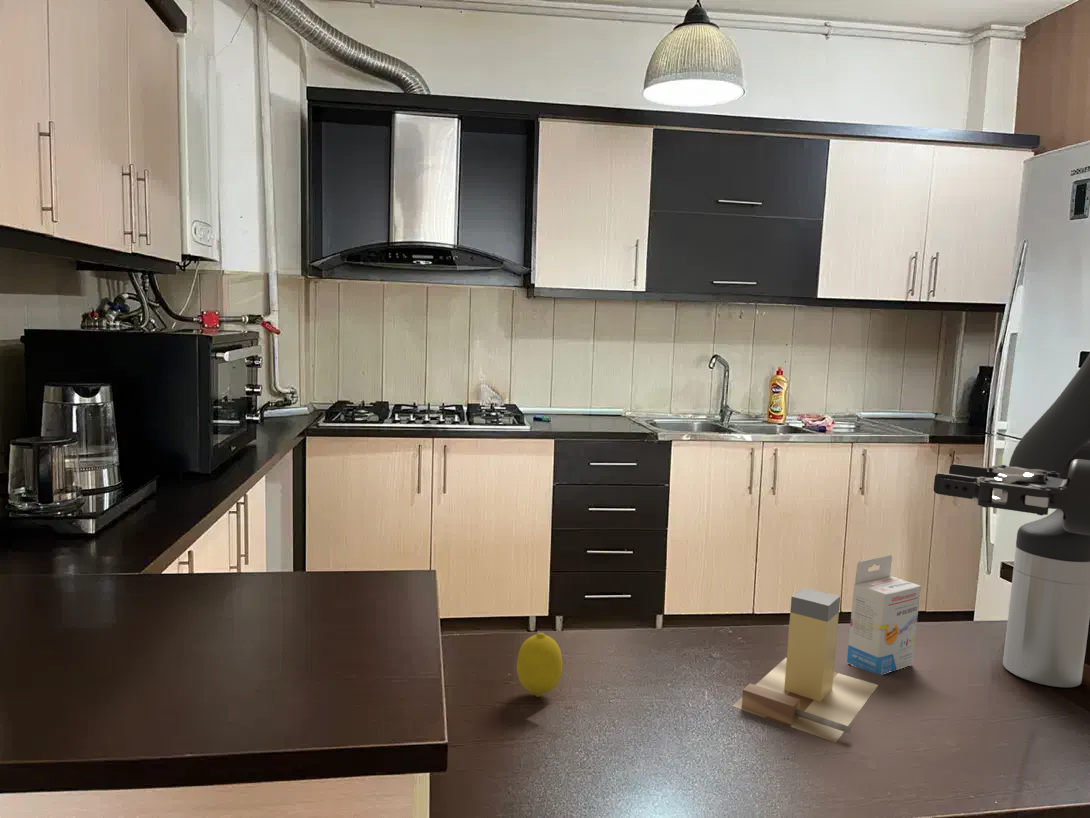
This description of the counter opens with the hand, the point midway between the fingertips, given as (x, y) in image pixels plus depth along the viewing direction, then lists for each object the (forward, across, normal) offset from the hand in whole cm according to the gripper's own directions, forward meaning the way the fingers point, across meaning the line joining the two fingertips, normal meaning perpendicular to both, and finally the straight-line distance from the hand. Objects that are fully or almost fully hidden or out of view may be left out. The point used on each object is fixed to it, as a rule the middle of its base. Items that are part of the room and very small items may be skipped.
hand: (942, 477), depth 85 cm
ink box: (+8, -17, +30) cm, 36 cm away
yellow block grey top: (+13, 0, +29) cm, 31 cm away
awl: (+12, +9, +29) cm, 33 cm away
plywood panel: (+12, +2, +30) cm, 32 cm away
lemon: (+38, +22, +30) cm, 53 cm away
